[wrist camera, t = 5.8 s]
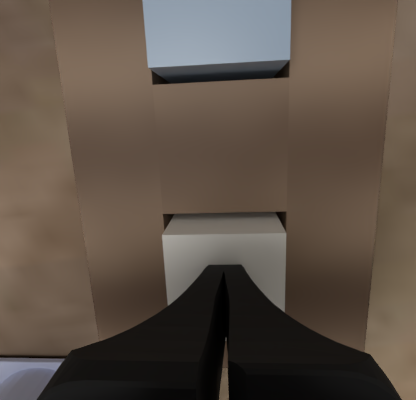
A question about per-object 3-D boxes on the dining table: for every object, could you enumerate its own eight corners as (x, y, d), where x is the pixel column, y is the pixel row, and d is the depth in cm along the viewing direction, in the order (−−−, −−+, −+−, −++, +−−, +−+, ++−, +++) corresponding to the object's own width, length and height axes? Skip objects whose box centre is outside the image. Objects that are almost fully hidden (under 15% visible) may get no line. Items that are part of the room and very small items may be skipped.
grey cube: (272, 78, 13) (289, 59, 9) (171, 83, 14) (148, 67, 10) (273, -41, 12) (293, -117, 8) (163, -32, 12) (134, -101, 9)
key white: (270, 287, 16) (284, 341, 12) (184, 287, 16) (170, 340, 12) (271, 203, 15) (286, 233, 11) (179, 206, 15) (161, 235, 11)
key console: (333, 315, 18) (362, 370, 14) (129, 314, 18) (103, 365, 15) (360, -105, 13) (417, -204, 9) (83, -78, 14) (25, -158, 10)
